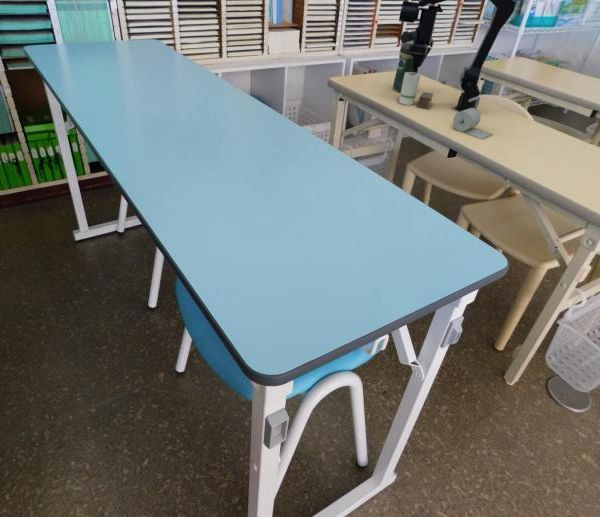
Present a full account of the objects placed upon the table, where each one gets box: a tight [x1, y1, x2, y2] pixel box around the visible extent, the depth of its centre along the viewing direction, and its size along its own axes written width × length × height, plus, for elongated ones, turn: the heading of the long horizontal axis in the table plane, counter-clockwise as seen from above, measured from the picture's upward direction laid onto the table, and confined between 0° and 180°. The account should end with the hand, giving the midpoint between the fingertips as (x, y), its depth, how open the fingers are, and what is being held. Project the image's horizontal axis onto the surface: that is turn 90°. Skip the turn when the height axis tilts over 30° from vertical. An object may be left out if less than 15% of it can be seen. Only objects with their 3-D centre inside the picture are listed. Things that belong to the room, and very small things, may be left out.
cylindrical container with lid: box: [398, 72, 421, 106], centre depth 177 cm, size 12×6×12 cm
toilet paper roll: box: [452, 95, 491, 139], centre depth 155 cm, size 10×11×12 cm
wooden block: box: [417, 91, 434, 110], centre depth 178 cm, size 4×8×4 cm, turn 157°
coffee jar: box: [392, 42, 419, 93], centre depth 189 cm, size 10×8×19 cm
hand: (416, 69), depth 174 cm, fingers open, 9 cm apart
